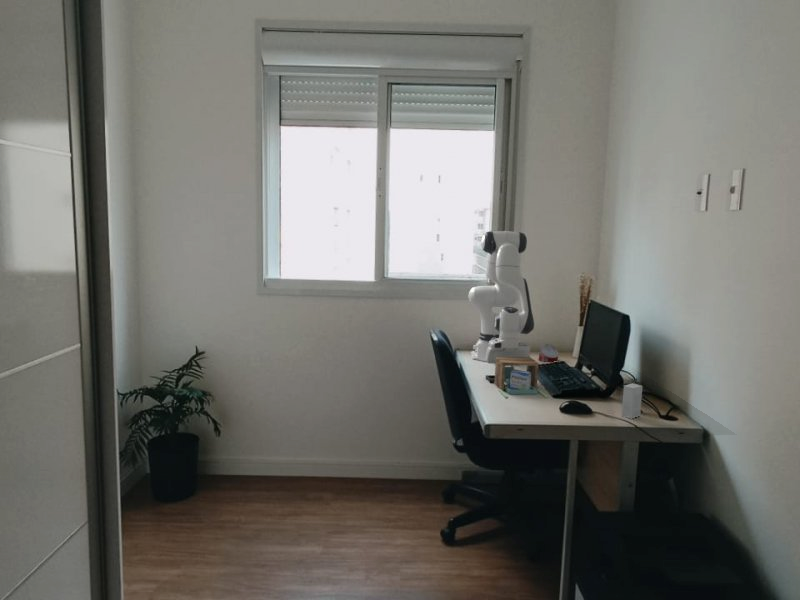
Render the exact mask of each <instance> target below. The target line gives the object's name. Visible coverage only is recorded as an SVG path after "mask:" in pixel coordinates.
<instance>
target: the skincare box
mask: <svg viewBox="0 0 800 600" xmlns="http://www.w3.org/2000/svg"><path fill="white" fill-rule="evenodd" d="M642 395H643V385H641V384H638V383H637V384H636V383H629V384H625V385H623V393H622V405H621V406H622V407H621V417H622V416H625V417H628V418H634V419H636V418H635V417H637V418H639V417H638V416H640V417H641V413H642V412H641V408H642V398H643V396H642ZM625 417H624V418H625ZM628 418H627V419H628Z"/></svg>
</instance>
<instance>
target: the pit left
mask: <svg viewBox="0 0 800 600" xmlns="http://www.w3.org/2000/svg"><path fill="white" fill-rule="evenodd" d="M485 380H486V381H487V380H488V381H489V382H490V383H491V384H492V383H493V384H494V383H495V374H493V375H492V374H491V375H490V374H489V375H488V374H487V375H485ZM488 381H487V382H488ZM489 382H488V383H489ZM490 383H489V384H490Z"/></svg>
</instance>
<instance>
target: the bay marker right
mask: <svg viewBox="0 0 800 600" xmlns="http://www.w3.org/2000/svg"><path fill="white" fill-rule="evenodd" d="M537 393H539V394H540V395H542V396H543V397H544V398H545V399H548V398H549V396H548V395H547V394H546V393H545V391H543V390H541V389H540V388H537Z"/></svg>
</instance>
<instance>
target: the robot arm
mask: <svg viewBox="0 0 800 600" xmlns="http://www.w3.org/2000/svg"><path fill="white" fill-rule="evenodd" d="M480 240H481V241H480V245H481V248H482V251H483V252H485V253H487V256H486V263H485V270H484V273H485V276H486V278H487V279H489V280H490V281H491V282H494V285H478V286H472V287H471V289H470V290H469V292H468V301H469V303H470V304H471V305H472V306H473V307H475V309H476V310H477V312H478V314H479V317H480V332H479V335H478V336H479V337H478V338H479V339H478V340H477V342H476V343H475V344H473V345H472V350H471V352H470V355H471V358H472V359H473V360H476V361H481V362H482V361H483V362H486V363H487V364H496V357H531V344H529V343H527V342H524V343H523V342H520V341H519V339H520V335H519V334H521V335H522V334H524V335H528V334H530V333H532V331H534V328H535V320H534V316H533V311H532V310H533V309H532V305H531V299H530V298H531V297H530V291H529V287H528V286H529V285H528V282H527V280H526V278H524V277H523V276H522V274H521V270H520V265H521V264H520V254H521V253H524V252H525V251H526V248H527V246H528V239H527V236H526V234H525V233H523V232H520V231H509V230H504V231H503V230H497V231H491V230H490V231H485V232H484V233H483V235H482V236H481V239H480ZM518 299H520V306H521V311H519V309H518V308H516V307H514V306H515V305H516V304H517V302H518ZM493 308H502V309H501V312H500V311H499V312H498V313H496V312H493ZM508 367H514V366H508Z"/></svg>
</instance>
